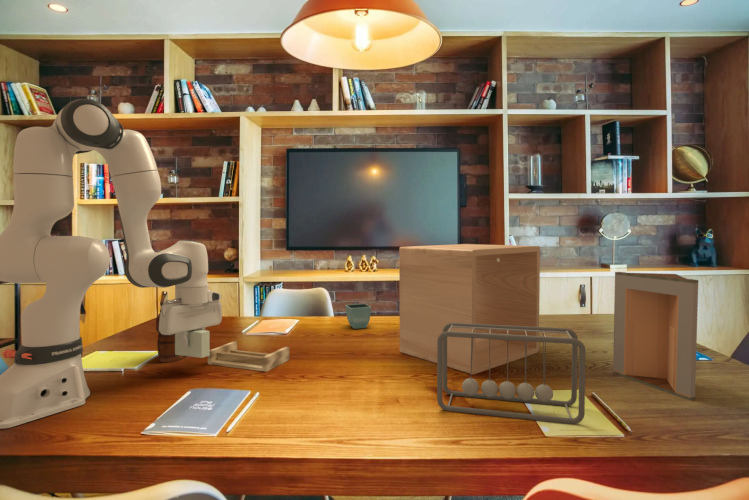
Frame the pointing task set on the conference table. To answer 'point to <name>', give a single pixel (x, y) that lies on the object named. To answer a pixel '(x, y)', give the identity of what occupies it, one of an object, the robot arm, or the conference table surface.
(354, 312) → the flower pot
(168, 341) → the wooden figurine
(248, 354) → the track frame
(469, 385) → the newton's cradle
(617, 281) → the cabinet
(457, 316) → the storage cube
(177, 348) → the cream rectangular block
